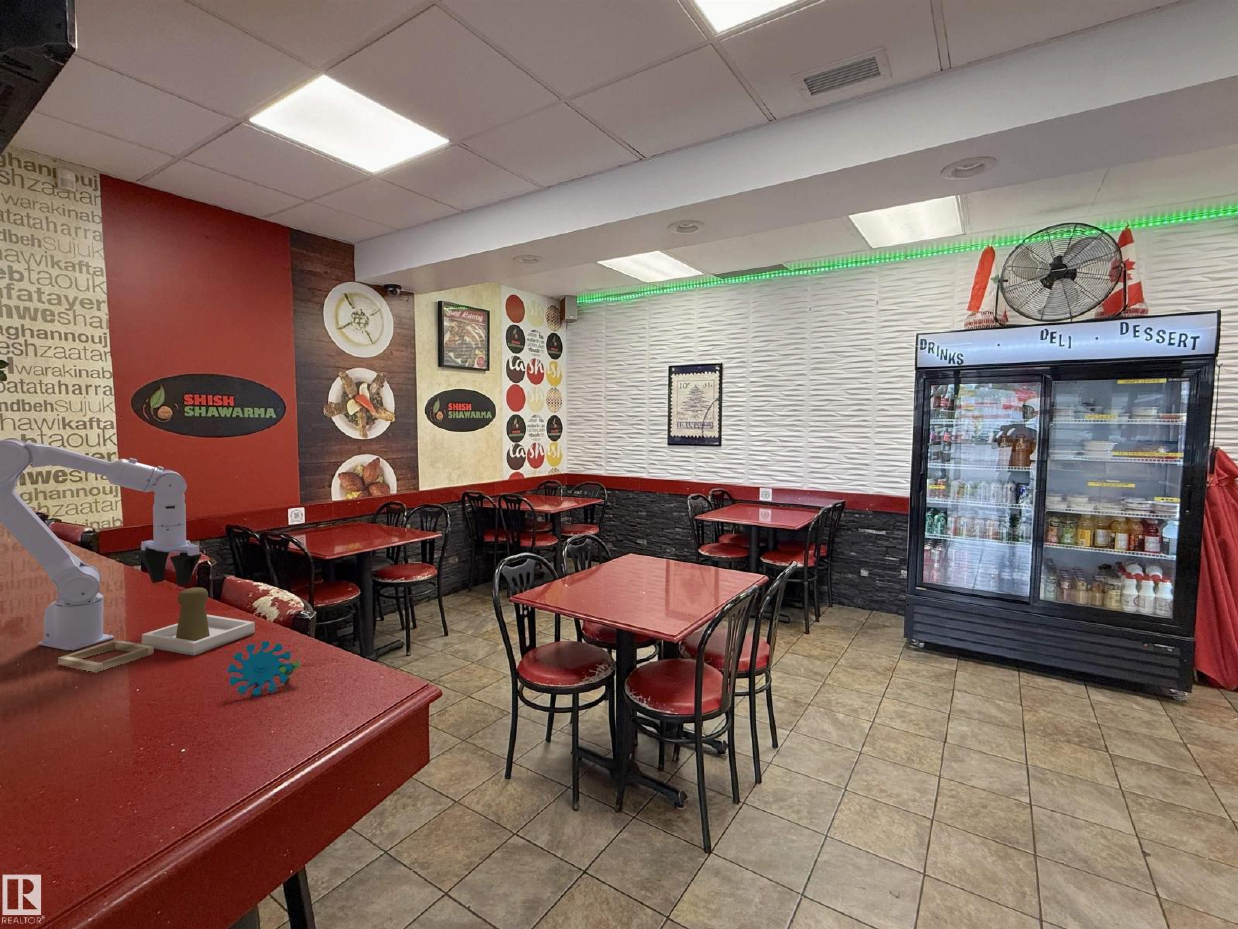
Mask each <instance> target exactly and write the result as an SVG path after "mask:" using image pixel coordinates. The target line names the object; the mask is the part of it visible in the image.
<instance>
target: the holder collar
mask: <svg viewBox="0 0 1238 929" xmlns="http://www.w3.org/2000/svg"><path fill="white" fill-rule="evenodd" d="M154 649H155V648H154V646H148V645H143V644H142V643H136V642H132V641H125V640H120V639H114V640H111V641H109V642H105V643H101V644H98V645H96V646H93V647H92V646H91V647H88V648H85V649H82V650H79V651H76V652H72V653H69V654H65V655H62V656H60V657H57V665H58V664H65V665H68V666H72V667H78V668H81V669H83V670H86V671H85V672H88V671H92V672H91V673H93V672H96V673H95V674H98V673H97V672H99V671H102V672H104V671H103V670H105V671H107V670H106V669H108V668H110V667H113V668H116V667H118V666H117V665H119V666H121V665H120V664H122V665H125V664H127V663H128V664H129V663H130V661H131V662H134V661H136V660H139V659H142V658H144V657H145V658H146V657H148V656H151V655H153V654H154V651H155V650H154ZM109 650H111V651H114V650H118V651H122V652H127V653H123V654H121V655H118V656H114V657H111V658H108V659H105V660H102V661H100V662H97V661H93V660H88V659H80V658H82V657H88V656H91V655H94V654H98V655H100V653H102V654H104V653H103V652H105V653H107V652H106V651H108V652H110V651H109ZM141 657H142V658H141ZM115 666H116V667H115ZM83 670H82V671H83ZM108 670H109V669H108ZM99 673H100V672H99Z"/></svg>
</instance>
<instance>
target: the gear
mask: <svg viewBox="0 0 1238 929" xmlns="http://www.w3.org/2000/svg"><path fill="white" fill-rule="evenodd" d="M270 643H271V642H270V641H267V640H263V641H261V643H260V644H261V645H260V646H261V647H260V649H259V650H258V652H256V653H253V652H254V651H255V648H256V645H255V643H250V644H247V645H246V647H245V650H246V652H247V653H248V658H246V659H243V655H244V654H243V653H242V652H241V651H239V652H236V654H234V655H233V660H234V661H237V662H239V663H240V664H241V667H240V668H237V665H236V664H235V663H231V664H230V665H229V666H228V668H227V673H228V674H233V673H238V674H239V675H242V676H241V677H238V676H235V675H232V676H230V677H229V685H230V686H235V685H236V684H238V683H241V682H248V683H247V684H241V685H239V686H238V687H237V692H238V693H239V694H241V695H243V694H246V692H247V690H248V689H249V688H251V687H252V686H254V685H258V686H257V687H256V688H253V690H252V691H251V696H254V697H260V696H261V693H262V688H263V687H264V685H265V684H266V683H269V685H268V687H267V693H273V692H275V691H277V685H276V684H275V683H274V682H275V681H274V678H275V677H279V683H280V684H285V683H286V682H287V681H288V680H289V678H290V677H289V676H291V675H293V674H294V671H295V670H298V669H299V668H300V665H301V662H300V661H299V660H295V661H294V662H293V663H292V662H287V663H286V662H285V663H284V662H282V661H280V659H282V660H285V661H288V660H290V659H291V651H289V650H287V651H285V652H284V653H281V654H274V653H275V652H277V653H278V652H281V651H282V650H283V648H284V647H283V645H282V644H281V643H279V642H278V643H276V644H275V645H274V647H273V648H272V649H270V650H268V651H264V650H266V649H268V648H269V647H270ZM288 677H289V678H288ZM272 691H273V692H272Z"/></svg>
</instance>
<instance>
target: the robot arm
mask: <svg viewBox="0 0 1238 929" xmlns="http://www.w3.org/2000/svg"><path fill="white" fill-rule="evenodd" d="M31 464H32V466H31V467H32V468H33V469H34V468H39V467H40V468H41V467H49V466H57V467H62V468H67V469H73V470H76V471H81V472H84V473H91V474H94V475H99V476H104V477H105V478H106V479H107V481H108V482H109V484H110V485H115V486H118V487H123V488H126V489H131V490H135V491H140V492H144V493H149V492H154V495H153V496H154V497H153V498H154V502H153V504H152V512H153V513H152V519H153V522H152V523H153V526H152V527H153V540H152V539H150V540H144V541H141V547H140V548H141V551H144V552H141V553H139V554H138V558H140V560H141V561H142V563H143V564H144V566H145V567H146V569H147V572H148V575H149V578H150V580H151V582H152V584H156V583H161V582H164V581H165V577H166V565H167V561H168V558H169V554H170V553H173V554H177V555H172V556H170V558H169V559H170V561H171V562H172V565H173V568H174V570H175V578H176V585H177V586H178V587H185V586H189V585H190V583H191V580H192V575H193V572H194V570H195V568H196V565H197V564H198V562H199V561H200V559H201V558H202V552H201V553H200V545H198V544H194V543H191V541H190V540H187V522H186V521H187V517H186V516H187V515H186V514H187V512H186V508H187V506H186V502H185V500H186V496H185V492H186V491H187V488H188V484H187V483H186V480H185V478H184V476H182V475H181V474H179V472H176V471H174V470H172V469H165V468H164V467H163V466H160V465H158V466H157V467H156V466H152V465H148V464H145V463H141V462H138V459H136V458H132V457H129V459H126V458H120V459H117V460H114V461H108V460H106V459H105V460H104V459H101V458H98V457H94V456H91V455H87V454H83V453H80V452H77V451H72V450H69V449H65V448H63V447H58V446H56V445H50V444H44V443H38V442H32V441H29V442H26V441H24V440H21V439H16V438H5V439H2V440H1V439H0V524H1V525H2V526H3V527H4V528H5V529H6V530H7V531H8V533H9V534H11V536H13V538H15V540H16V541H17V542H18V543H19V544H20V545H21V546H22V547H23V548H24V549H25V550H26V551H27V553H29V554H30V556H32V558H34V560H35V561H36V562H37V563H39V565H40V566H42V568H43V569H44V570H45V573H46V574H47V576H48V577H49V578H48V579H49V580H50V581H51V582H52V583H53V584H54V586H55V588H56V594H57V597H58V598H56V599H55V600H54V601H53V602H50V603H49V604H48V606H47V607H46V608H45V611H44V613H43V641H39V642H38V645H39V646H43V647H48V648H54V649H60V650H63V651H68V650H72V651H75V650H78V649H82V648H85V647H89V646H92V645H95V644H98V643H103V642H105V641H108V640H112V639H114V638H115V636H114V635H112V634H105V633H104V595H103V594H102V593H101V592H99V591H100V588H101V581H102V575H101V572H100V570H98V568H96V567H95V566H93V565H90V564H87V563H85V562H84V561H82V560H81V558H80V557H78V556H77V555H75V554H74V553H73V552H72V551H70V550H69V548H68V547H67V546H66V545H65V544H64V543H63V542H62V540H61V539H59V537H58V536H57V535H56V534H55V533H54V532H53V531H52V530H51V529H50V528H49V527H48V525H47V524H46V523H45V522H44V521H43V519H41V518H40V517H39V516H38V515H37V514H36V512H34V510H33V509H32V508H31V507H30V506H29V505H28V504H27V503H26V501H24V500H23V499H22V497H21V496H20V495H19V494H18V493H17V492H16V491H15V490H16V487H17V484H18V482H19V480H20V477H21V474H22V473H24V471H25V470H26V469H27V468H28V467H29V466H30V465H31Z"/></svg>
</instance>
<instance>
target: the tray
mask: <svg viewBox="0 0 1238 929" xmlns="http://www.w3.org/2000/svg"><path fill="white" fill-rule="evenodd" d="M207 620H208V627H209V633H210V636H209V637H206V638H203V639H200V640H197V641H191V640H185V639H179V638H176V633H177V627H178V623H175V624H171V625H167V626H164V627H161V628H159V629H155V630H151V631H148V632H145V633H142V634H141V644H143V645H148V646H154V649H155V650H161V651H167V652H173V653H178V654H184V655H190V656H193V657H194V656H196V655H200V654H202V653H205V652H207V651H210V650H213V649H216V648H218V647H221V646H224V645H226V644H229V643H231V642H234V641H238V640H239V639H242V638H245V637H247V636H250V635H253V634H255V632H256V630H255V629H256V628H255V625H256V624H255V623H256V621H250V620H244V619H238V618H232V617H225V616H224V617H223V616H218V615H212V614H207Z"/></svg>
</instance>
